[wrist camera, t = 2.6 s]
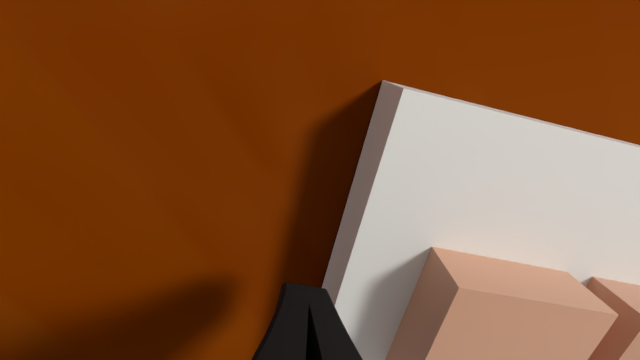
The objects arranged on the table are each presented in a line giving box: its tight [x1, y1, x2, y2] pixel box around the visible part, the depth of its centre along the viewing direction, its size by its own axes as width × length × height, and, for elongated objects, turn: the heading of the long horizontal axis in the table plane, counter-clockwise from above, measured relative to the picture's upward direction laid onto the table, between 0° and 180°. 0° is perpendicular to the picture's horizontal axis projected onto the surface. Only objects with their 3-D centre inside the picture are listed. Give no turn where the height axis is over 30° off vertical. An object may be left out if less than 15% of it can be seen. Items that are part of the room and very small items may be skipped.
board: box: [322, 80, 640, 360], centre depth 13 cm, size 14×16×2 cm
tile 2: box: [385, 247, 618, 360], centre depth 11 cm, size 5×5×2 cm
